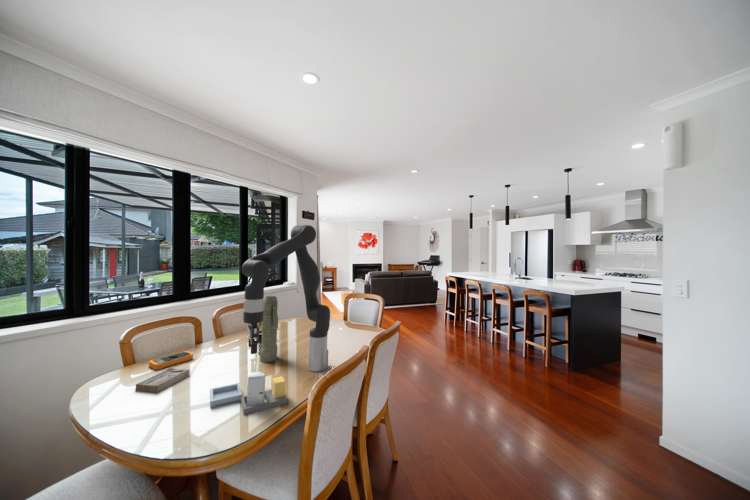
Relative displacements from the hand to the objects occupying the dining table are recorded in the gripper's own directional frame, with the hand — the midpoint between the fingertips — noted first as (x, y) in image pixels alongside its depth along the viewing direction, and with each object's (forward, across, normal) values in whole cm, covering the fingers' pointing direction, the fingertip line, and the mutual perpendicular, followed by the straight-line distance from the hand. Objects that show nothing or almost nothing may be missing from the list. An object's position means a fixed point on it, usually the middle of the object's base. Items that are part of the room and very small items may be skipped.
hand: (252, 349), depth 112 cm
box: (+22, +34, +32) cm, 52 cm away
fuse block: (+21, -2, -4) cm, 21 cm away
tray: (+21, +8, +9) cm, 24 cm away
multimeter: (+22, +59, +32) cm, 70 cm away
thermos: (+21, +42, -13) cm, 49 cm away
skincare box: (+21, -3, -2) cm, 22 cm away
